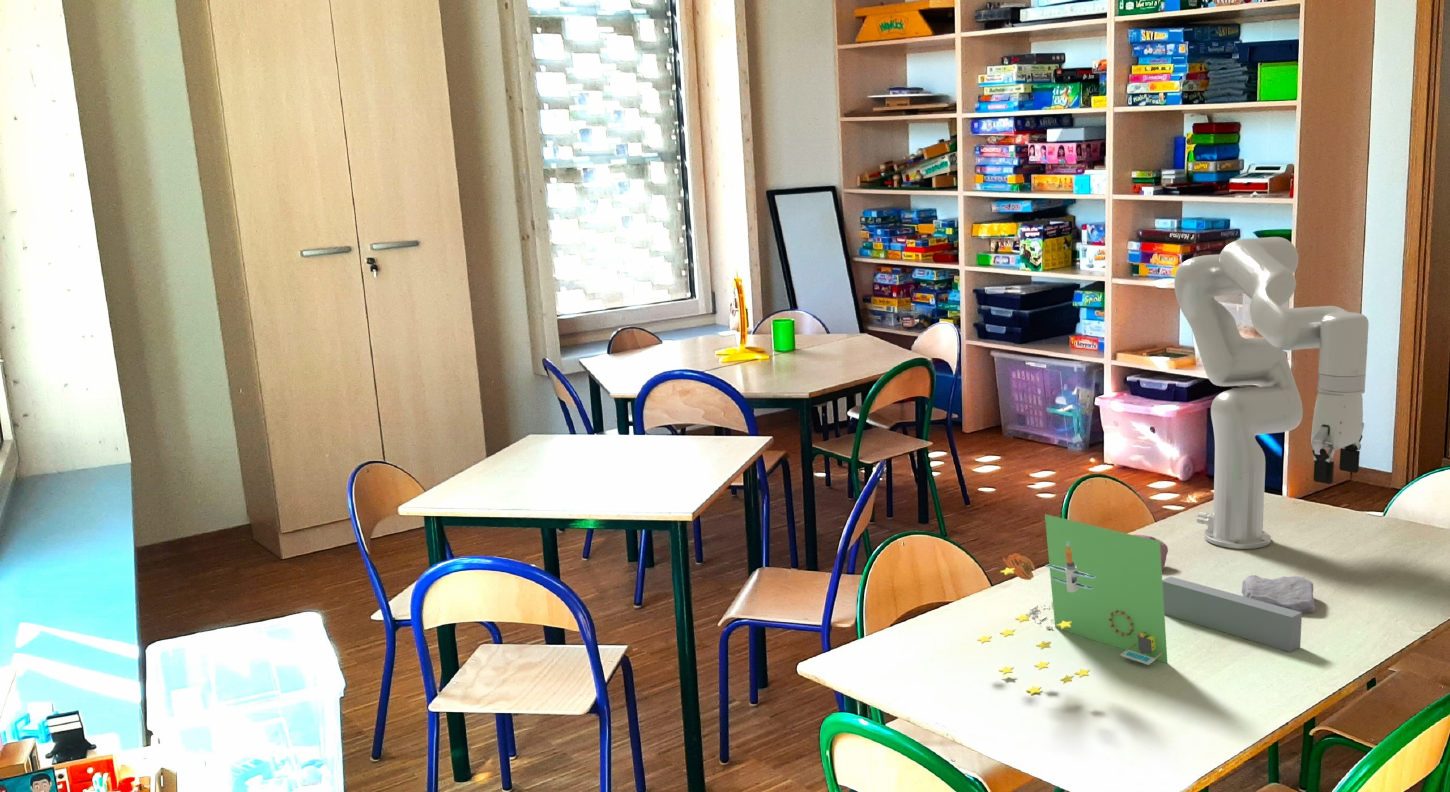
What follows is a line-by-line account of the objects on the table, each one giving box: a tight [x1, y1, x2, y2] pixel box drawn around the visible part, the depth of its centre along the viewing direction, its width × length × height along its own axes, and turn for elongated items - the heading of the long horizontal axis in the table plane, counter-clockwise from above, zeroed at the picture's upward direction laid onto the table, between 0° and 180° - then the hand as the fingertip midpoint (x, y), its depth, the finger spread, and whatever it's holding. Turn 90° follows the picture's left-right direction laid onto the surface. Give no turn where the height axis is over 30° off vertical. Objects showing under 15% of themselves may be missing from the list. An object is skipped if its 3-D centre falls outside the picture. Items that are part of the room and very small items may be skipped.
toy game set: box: [977, 513, 1168, 696], centre depth 200 cm, size 22×25×24 cm
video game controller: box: [1134, 534, 1169, 571], centre depth 247 cm, size 10×5×7 cm, turn 58°
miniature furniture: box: [1025, 600, 1055, 631], centre depth 229 cm, size 7×25×2 cm, turn 138°
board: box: [1162, 576, 1303, 653], centre depth 213 cm, size 24×3×6 cm, turn 38°
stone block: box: [1241, 574, 1316, 614], centre depth 224 cm, size 12×5×10 cm
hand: (1336, 476), depth 225 cm, fingers open, 9 cm apart
